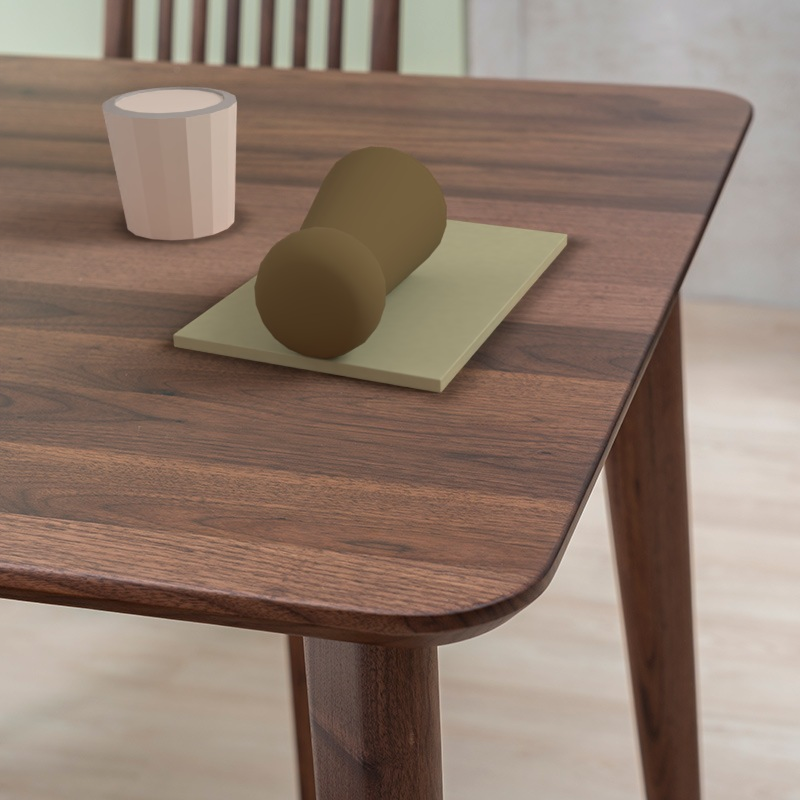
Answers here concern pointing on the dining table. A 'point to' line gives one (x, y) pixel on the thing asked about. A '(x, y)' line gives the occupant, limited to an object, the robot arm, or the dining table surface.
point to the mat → (405, 311)
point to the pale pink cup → (174, 160)
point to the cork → (350, 252)
